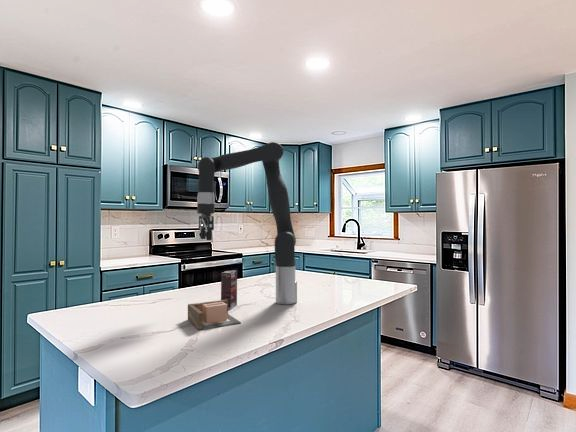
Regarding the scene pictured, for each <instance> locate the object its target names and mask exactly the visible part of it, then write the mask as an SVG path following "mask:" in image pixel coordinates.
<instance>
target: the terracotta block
mask: <svg viewBox="0 0 576 432" xmlns="http://www.w3.org/2000/svg"><path fill="white" fill-rule="evenodd" d="M225 320H227V304H225V303H224V302H217V303H209V304H203V321H204V322H205V323H213V322H219V321H225Z"/></svg>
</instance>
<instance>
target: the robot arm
mask: <svg viewBox="0 0 576 432" xmlns="http://www.w3.org/2000/svg"><path fill="white" fill-rule="evenodd" d="M283 155H284V148H283V146H282V145H281V144H280V143H278V142H274V141H271V142H268V143H266V144H263V145H261V146H258V147H254V148H250V149H246V150H241V151H237V152H236V151H235V152H231V153H230V152H229V153H225V154H221V155H218V156H215V157H209V156H205V157H202V158H200V160H199V161H198V163H197V166H196V167H197V170H198V183H197V199H196V202H197V203H196V205H197V208H196V209H197V210H196V211H197V212H196V213H197V214H201V215H198V230H199V231H200V240H206V241H212V240H213V239H212V237H213V231H214V230H215V220H214V219H215V217H214V216H213V215H212V214H215V211H216V210H215V205H216V203H215V202H216V201H215V184H214V183H215V173H218V172H221V171H227V170H228V171H230V170H233V169H234V170H235V169H238V168H241V167H244V166H247V165H250V164H253V163H258V162H262V165H263V170H264V172H265V179H266V180H265V181H266V186H267V195H268V201H269V205H270V210H271V212H272V215H273V218H274V220H275V225H276V232H277V235H276V236H275V240H274V260H275V303H276V304H277V305H279V304H280V305H292V304H295V303H298V282H297V281H296V257H295V248H296V246H295V245H296V243H297V238H296V235H295V232H294V227H293V225H292V219H291V217H292V216H291V208H290V207H291V205H290V200H289V199H290V198H289V193H288V188H287V185H286V183H285V181H284V179H283V177H282V174H281V170H280V160H281V159H282V157H283Z"/></svg>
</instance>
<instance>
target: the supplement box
mask: <svg viewBox="0 0 576 432" xmlns="http://www.w3.org/2000/svg"><path fill="white" fill-rule="evenodd" d="M220 277H221V278H220V280H221V281H220V283H221V284H220V300H228V311H229V310H232V309H233V308H235V307H236V306H237V305H238V270H231V269H230V270H226V271H224V272H221V275H220Z"/></svg>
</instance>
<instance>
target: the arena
mask: <svg viewBox="0 0 576 432" xmlns="http://www.w3.org/2000/svg"><path fill="white" fill-rule="evenodd" d="M217 302H224V303H225V304H227V320H225V321H219V322H213V323H205V322H204V321H203V304H209V303H217ZM187 321H188V322H189V323H190V324H192V325H193V327H195V328H196V329H197V330H198V331H202V330H210V329H215V328H222V327H226V326H227V327H228V326H233V325H240V324H241V322H242V321H239V319H237V318H235V317H234V316H232V315H231V314H229V310H228V300H221V299H219V300H212V301H206V302H205V301H204V302H196V303H188V304H187Z"/></svg>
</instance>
